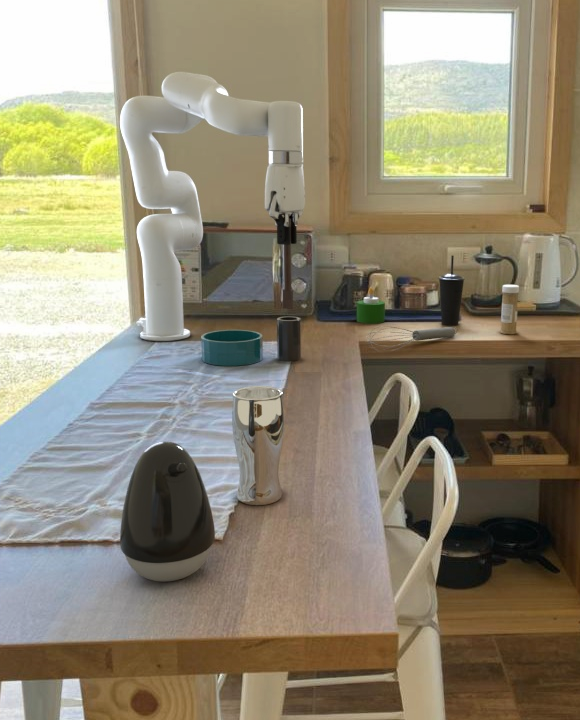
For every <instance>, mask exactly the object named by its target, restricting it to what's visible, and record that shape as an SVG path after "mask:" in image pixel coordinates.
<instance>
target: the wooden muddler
mask: <svg viewBox="0 0 580 720" xmlns="http://www.w3.org/2000/svg"><path fill="white" fill-rule="evenodd" d="M288 227H290V242H291V219H289V225H288ZM282 257H283V258H282V262H283V263H282V264H283V267H282V268H283V289H282V309H286V310H293V309H294V290H293V289H292V285H293V284H292V281H293V279H292V276H293V275H292V244H291V243H290V245H283V244H282Z"/></svg>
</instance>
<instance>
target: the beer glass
mask: <svg viewBox="0 0 580 720" xmlns="http://www.w3.org/2000/svg"><path fill="white" fill-rule="evenodd" d="M283 399H284V397H283V390H281V389H280V388H277V387H274V386H265V385H253V386H245V387H241V388H237V389H235V390H234V391H233V393H232V409H231V410H232V412H231V413H232V414H231V426H232V427H231V428H232V438H233V444H234V448H235V453H236V459H237V463H238V469H239V481H238V488H237V494H236V497H237V500H238V501H239V502H241V503H242V504H244V505H249V506H268V505H270V504H274V503H276V502H278V501H279V500H280V499H281V498H282V496H283V493H282V487H281V482H280V474H279V472H280V471H279V469H280V460H281V454H282V449H283V442H284V436H285V409H284V400H283Z"/></svg>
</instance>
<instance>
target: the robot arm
mask: <svg viewBox="0 0 580 720" xmlns="http://www.w3.org/2000/svg"><path fill="white" fill-rule="evenodd" d="M161 94H162V96H155V95H136V96H133V97H131V98H129V99H128V100H126V101H125V103H124V104H123V106H122V108H121V112H120V115H119V126H120V127H119V128H120V131H121V135H122V139H123V141H124V144H125V148H126V150H127V153H128V154H127V155H128V157H129V163H130V169H131V175H132V180H133V185H134V190H135V191H134V192H135V195H136V199H137V202H138V203H139V205H140V206H141V207H142V208H145V209H149V210H165V209H167V210H168V209H169V210H171V213H155V214H150V215H147V216H145V217H143V218H142V219H141V220H140V221H139V222H138V224H137V227H136V238H137V242H138V246H139V250H140V255H141V262H142V263H141V265H142V276H143V294H144V311H145V313H144V314H145V317H140V318H139V319H138V320H137V321H136V322H135V325H136V327H142V331H140V333H139V337H140V338H141V339H142V340H145V341H153V342H170V341H179V340H184V339H187V338H189V337H190V336H191V331H190V330H189V329H187V328H185V324H184V323H185V322H184V301H183V300H184V297H183V276H182V266H181V264H180V262H179V259H178V257H177V256H176V254H175V252H176V251H177V252H178V251H187V250H188V251H189V250H193V249H196V248H197V247H198V246H200V245H201V243H202V241H203V237H204V225H203V219H202V214H201V207H200V202H199V196H198V192H197V191H198V189H197V187H196V184H195V182H194V181H193V179H192V178H191V176H190V175H189V174H188V173H186V172H183V171H179V170H168V167H167V164H166V158H165V157H166V156H165V153H164V149H163V148H162V146H161V144H160V143H159V142H158V140H157V139H156V138H155V136H154V135H153V133H161V134H162V133H164V134H184V133H187V132H189V131H191V130H192V129H193V128H194V127H196V126H197V125H198V124H199V123H201V122H202V121H203V120H205V121H206V122H207V123H208V124H209V125H210V126H212V127H214V128H216V129H219V130H221V131H223V132H227V133H230V134H233V135H236V136H247V137H249V136H250V137H260V138H261V137H262V138H263V137H265V138H268V139H267V141H268V142H267V143H268V144H267V145H268V165H267V169H266V175H265V185H264V209H265V211H266V212H268V215H269V217H270V218H271V219H273V220H274V225H275V227H276V243H277V245H282V246H283V245H290V243H291V245H296V244H297V242H298V240H297V239H298V237H297V229H298V228H297V226H298V225H299V218H300V217H302V215H304V209H305V206H306V187H305V185H306V184H305V175H304V168H303V167H304V128H303V127H304V122H303V121H304V120H303V119H304V117H303V115H304V114H303V113H304V111H303V110H304V109H303V106H302V104H301V103H300V102H297V101H292V100H275V101H271V102H270V101H260V100H252V99H242V98H237V97H233V96H231V95H229V92H228V91H227V89H226V87H224V86H223V85H222V84H221V83H218V81H217V80H216V79H215V78H213V77H211V76H209V75H207V74H200V73H195V72H194V73H193V72H187V71H175V72H172V73H171V72H170V73H169V74H168V75H167V76H165V78H164V79H163V81H162V83H161ZM289 219H291V242H290V227H288V225H289Z"/></svg>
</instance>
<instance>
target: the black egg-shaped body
mask: <svg viewBox="0 0 580 720" xmlns="http://www.w3.org/2000/svg"><path fill="white" fill-rule="evenodd" d="M123 502H124V504H123V508H122V514H121V520H120V521H121V522H120V531H119V545H120V550H121V552H122V553H123V555H124V556H125V559H126V561H127V563H128V565H129V566H130V568H131V569H132V570H133V571H134V572H135V573H136V574H138V576H140V577H142V578H144V579H146V580H149V581H154V582H166V583H167V582H174V581H179V580H181V579H184V578H188V577H189V576H191V575H192V574H194V573H196V572H197V571H198V570H200V568H201V567H203V565H204V564H205V562H206V561H207V559H208V558H209V555H210V553H211V549H212V545H213V544H214V542H215V539H216V530H215V521H214V517H213V512H212V507H211V502H210V499H209V496H208V492H207V490H206V487H205V483H204V481H203V478H202V476H201V473H200V471H199V469H198V467H197V464H196V463H195V461H194V460H193V458H192V456H191V455H190V454H189V452H188V451H187V450H186V448H184V447H183V446H181V445H180V444H178V443H175V442H172V441H159V442H156V443H154V444H151V445H149V446H148V447H147V448H146V449H145V450H144V451H143V452H142V453H141V455H140V456H139V458H138V459H137V461H136V463H135V466H134V467H133V470H132V473H131V476H130V479H129V482H128V486H127V489H126V494H125V498H124V501H123Z"/></svg>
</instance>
